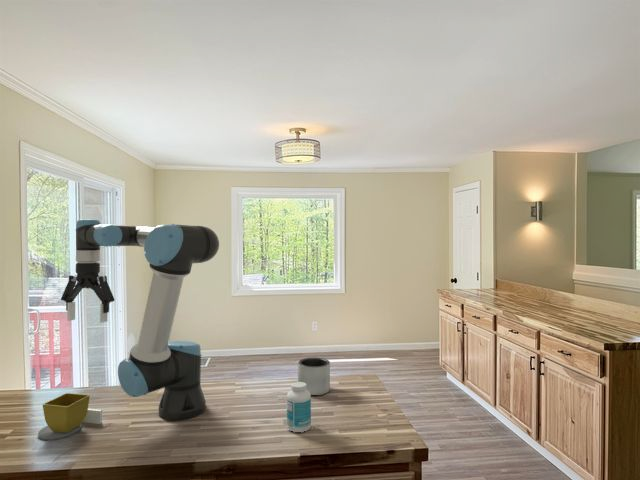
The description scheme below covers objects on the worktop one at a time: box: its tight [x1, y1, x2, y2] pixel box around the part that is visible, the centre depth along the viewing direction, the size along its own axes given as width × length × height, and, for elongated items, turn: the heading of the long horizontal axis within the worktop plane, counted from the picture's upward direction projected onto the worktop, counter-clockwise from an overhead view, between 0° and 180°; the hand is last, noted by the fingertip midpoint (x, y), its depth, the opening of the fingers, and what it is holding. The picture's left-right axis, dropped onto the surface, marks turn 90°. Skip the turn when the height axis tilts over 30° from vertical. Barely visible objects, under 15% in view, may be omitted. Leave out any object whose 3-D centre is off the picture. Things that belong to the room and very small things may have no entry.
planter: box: [297, 357, 331, 396], centre depth 151 cm, size 12×13×11 cm
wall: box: [82, 407, 103, 425], centre depth 124 cm, size 14×1×4 cm, turn 79°
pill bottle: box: [286, 381, 312, 433], centre depth 121 cm, size 8×7×14 cm
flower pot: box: [42, 392, 91, 433], centre depth 117 cm, size 9×9×9 cm
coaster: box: [37, 422, 83, 441], centre depth 118 cm, size 11×11×1 cm
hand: (87, 321), depth 141 cm, fingers open, 13 cm apart
